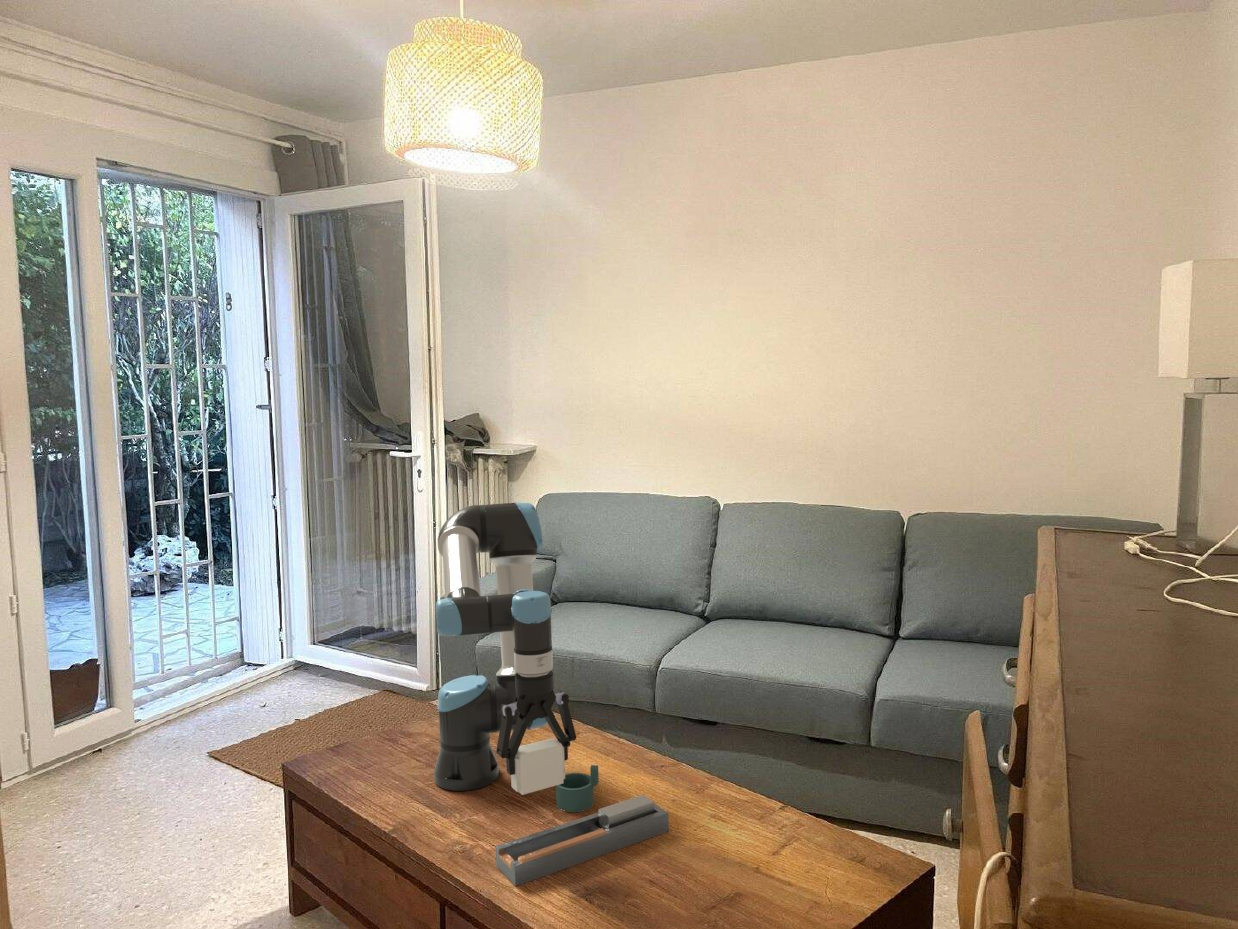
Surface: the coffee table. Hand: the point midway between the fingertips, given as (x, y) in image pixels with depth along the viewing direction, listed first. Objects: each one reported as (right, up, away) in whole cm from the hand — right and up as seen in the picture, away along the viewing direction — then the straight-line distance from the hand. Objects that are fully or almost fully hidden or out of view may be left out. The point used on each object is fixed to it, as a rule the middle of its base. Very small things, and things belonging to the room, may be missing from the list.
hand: (538, 783), depth 178 cm
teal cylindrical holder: (+6, -12, +22) cm, 26 cm away
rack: (+9, -14, +3) cm, 17 cm away
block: (0, 0, 0) cm, 1 cm away
